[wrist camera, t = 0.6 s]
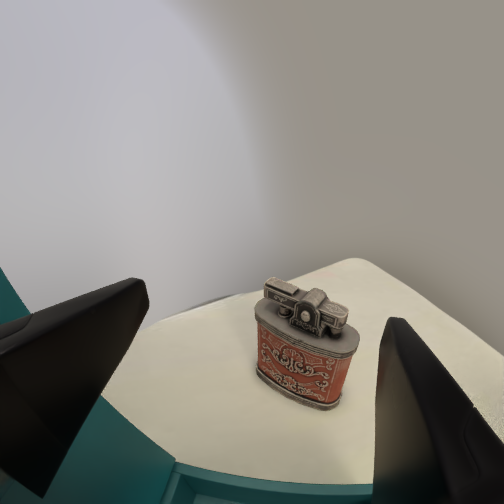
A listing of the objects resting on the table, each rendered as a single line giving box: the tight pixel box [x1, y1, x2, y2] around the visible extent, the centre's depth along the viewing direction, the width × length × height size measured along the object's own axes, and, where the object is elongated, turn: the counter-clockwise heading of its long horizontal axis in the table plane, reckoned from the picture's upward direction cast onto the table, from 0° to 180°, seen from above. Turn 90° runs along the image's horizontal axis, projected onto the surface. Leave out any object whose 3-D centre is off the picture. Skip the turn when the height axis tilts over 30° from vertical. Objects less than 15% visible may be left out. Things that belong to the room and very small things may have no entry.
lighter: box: [255, 277, 360, 411], centre depth 22 cm, size 8×3×10 cm, turn 52°
